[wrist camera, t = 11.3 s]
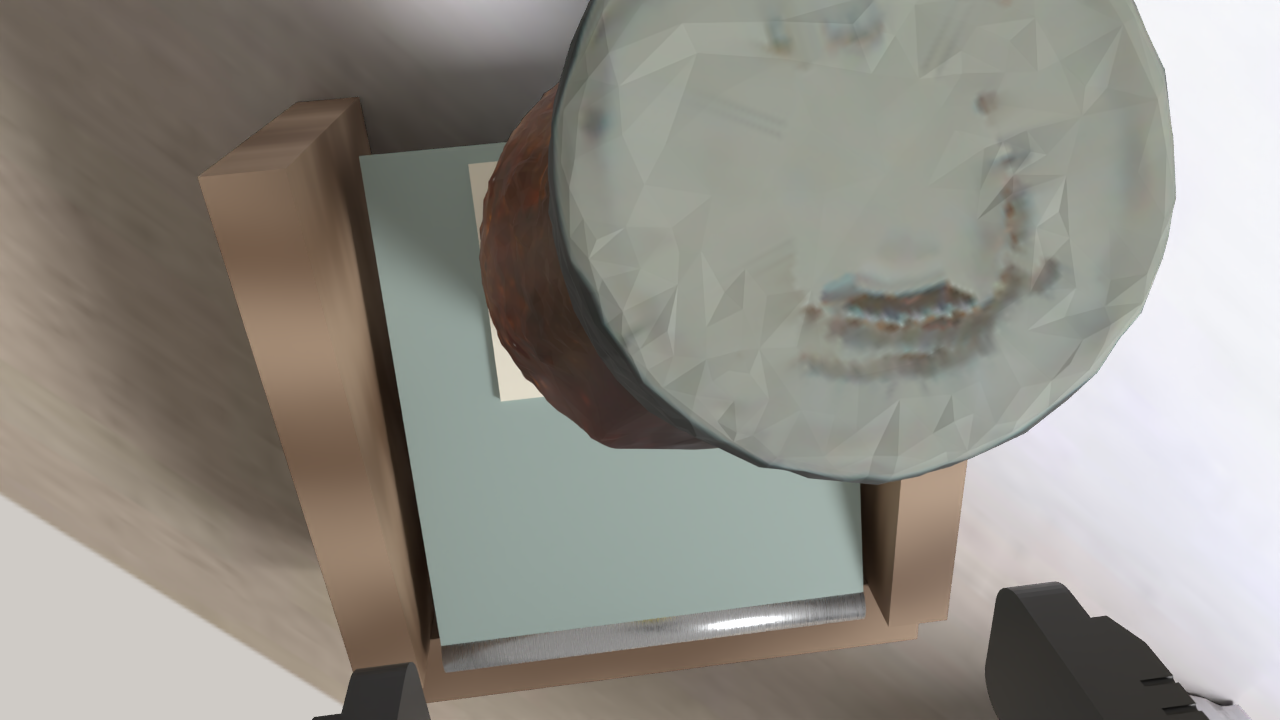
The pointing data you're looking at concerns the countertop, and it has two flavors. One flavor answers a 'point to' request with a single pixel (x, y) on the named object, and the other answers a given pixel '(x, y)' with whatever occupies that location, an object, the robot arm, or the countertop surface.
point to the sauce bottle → (831, 224)
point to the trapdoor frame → (377, 447)
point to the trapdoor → (572, 474)
